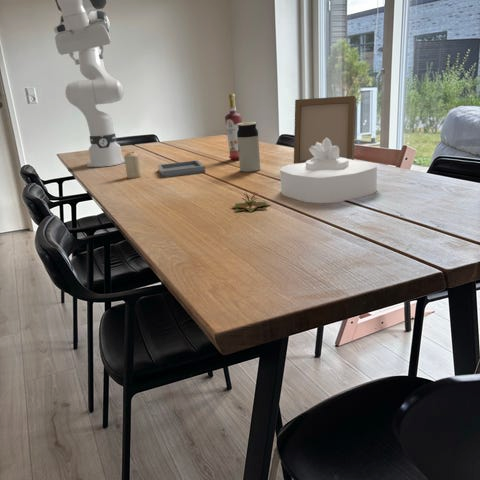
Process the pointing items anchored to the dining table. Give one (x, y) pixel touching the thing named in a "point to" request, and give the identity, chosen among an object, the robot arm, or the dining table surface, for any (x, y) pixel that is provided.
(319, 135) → the photo frame
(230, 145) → the liquor
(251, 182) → the dining table surface
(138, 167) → the candle
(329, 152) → the tissue box
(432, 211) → the dining table surface
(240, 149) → the travel mug
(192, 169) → the dish
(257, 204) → the olive green leafy cluster
